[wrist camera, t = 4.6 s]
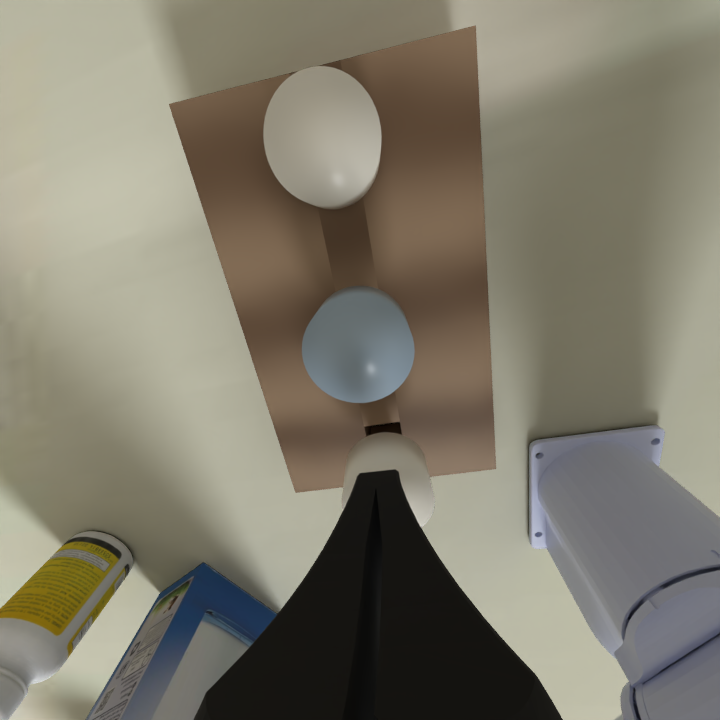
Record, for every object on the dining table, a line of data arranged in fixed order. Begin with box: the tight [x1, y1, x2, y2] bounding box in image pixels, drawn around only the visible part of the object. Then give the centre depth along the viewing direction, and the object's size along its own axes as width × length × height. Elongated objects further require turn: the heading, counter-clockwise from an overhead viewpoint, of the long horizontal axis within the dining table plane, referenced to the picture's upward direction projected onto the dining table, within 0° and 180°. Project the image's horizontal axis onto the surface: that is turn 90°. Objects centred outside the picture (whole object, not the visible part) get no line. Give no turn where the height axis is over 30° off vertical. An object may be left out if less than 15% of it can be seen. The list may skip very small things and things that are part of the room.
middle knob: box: [302, 286, 415, 403], centre depth 14 cm, size 4×4×4 cm
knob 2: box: [342, 432, 435, 527], centre depth 16 cm, size 4×4×4 cm
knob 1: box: [263, 66, 382, 209], centre depth 13 cm, size 4×4×4 cm
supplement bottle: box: [0, 531, 133, 720], centre depth 23 cm, size 5×5×10 cm
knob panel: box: [169, 26, 496, 493], centre depth 17 cm, size 20×12×3 cm, turn 11°
